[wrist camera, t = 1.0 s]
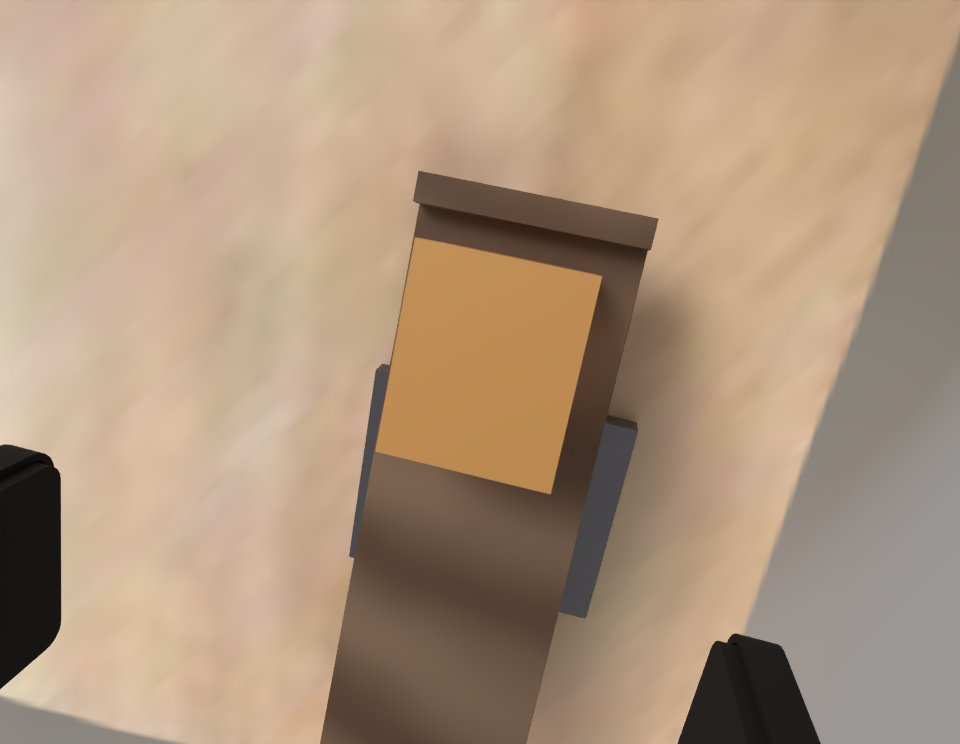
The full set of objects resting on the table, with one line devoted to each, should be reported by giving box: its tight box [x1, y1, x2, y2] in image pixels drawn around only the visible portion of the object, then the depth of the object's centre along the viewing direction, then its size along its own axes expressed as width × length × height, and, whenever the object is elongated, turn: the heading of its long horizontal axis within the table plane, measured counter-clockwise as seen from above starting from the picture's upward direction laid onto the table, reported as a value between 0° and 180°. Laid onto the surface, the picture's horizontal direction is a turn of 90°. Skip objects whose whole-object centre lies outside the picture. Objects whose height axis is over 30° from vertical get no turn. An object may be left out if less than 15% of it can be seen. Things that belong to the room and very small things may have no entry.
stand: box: [349, 364, 638, 618], centre depth 31 cm, size 18×12×6 cm, turn 169°
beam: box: [320, 171, 658, 744], centre depth 26 cm, size 28×8×2 cm, turn 169°
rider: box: [375, 237, 602, 494], centre depth 21 cm, size 6×5×6 cm
